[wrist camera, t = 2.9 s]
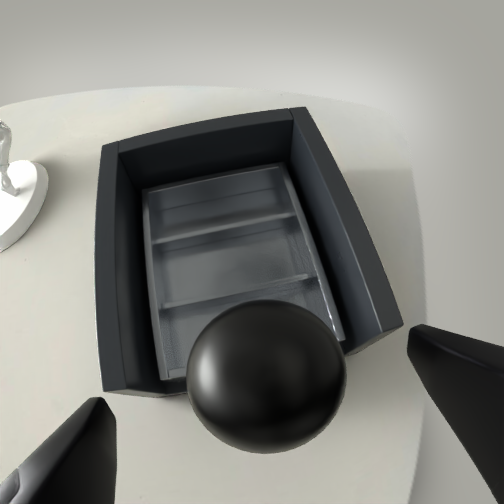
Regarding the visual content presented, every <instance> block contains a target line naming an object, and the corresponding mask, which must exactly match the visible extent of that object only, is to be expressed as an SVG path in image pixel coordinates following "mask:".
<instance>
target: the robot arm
mask: <svg viewBox="0 0 504 504" xmlns="http://www.w3.org/2000/svg"><path fill="white" fill-rule="evenodd" d="M407 354H408V357H409V359H410V361H411V363H412V365H413V366H414V368H415V370H416V372H417V374H418V376H419V377H420V379H421V381H422V383H423V385H424V387H425V389H426V390H427V392H428V394H429V395H430V397H431V398H432V400H433V401H434V403H435V404H436V406H437V407H438V409H439V410H440V412H441V413H442V414H443V416H444V417H445V419H446V420H447V422H448V423H449V425H450V426H451V428H452V430H453V431H454V433H455V434H456V436H457V437H458V439H459V440H460V442H461V443H462V445H463V446H464V448H465V449H466V451H467V453H468V454H469V456H470V457H471V459H472V460H473V462H474V464H475V465H476V467H477V468H478V470H479V472H480V473H481V475H482V477H483V478H484V480H485V482H486V483H487V485H488V487H489V488H490V490H491V492H492V494H493V495H494V497H495V499H496V501H497V502H498V504H504V347H502V346H499V345H495V344H491V343H488V342H484V341H481V340H477V339H473V338H470V337H466V336H462V335H459V334H455V333H452V332H448V331H445V330H441V329H438V328H435V327H431V326H428V325H424V324H420V325H417V326H415V327H412V328H411V329H410V331H409V336H408V345H407ZM116 472H117V444H116V419H115V416H114V414H113V413H112V411H111V409H110V408H109V406H108V404H107V403H106V401H105V399H104V398H102V397H93V398H89V399H88V400H87V401H86V402H85V403H84V404H83V405H82V406H81V407H79V408H78V409H77V410H76V411H75V412H74V413H73V414H72V415H71V416H70V417H69V418H68V419H67V420H66V421H65V422H64V423H63V424H62V425H61V426H60V427H59V428H58V429H57V430H56V431H55V432H54V433H53V434H52V435H51V436H49V437H48V438H47V439H46V440H45V441H44V442H43V443H42V444H41V445H40V446H39V447H38V448H37V449H36V450H35V451H34V452H33V453H32V454H31V455H30V456H29V457H28V458H27V459H26V460H25V461H24V462H23V463H22V464H21V465H20V466H19V467H18V469H15V470H14V471H13V472H12V473H11V474H10V475H9V476H8V477H7V478H6V479H5V480H4V481H3V482H2V483H1V484H0V504H114V501H115V486H116Z"/></svg>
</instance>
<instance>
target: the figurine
mask: <svg viewBox="0 0 504 504" xmlns="http://www.w3.org/2000/svg"><path fill="white" fill-rule="evenodd" d="M1 124H2V125H4V126H5V127H7V128H8V129H7V128H5V127H3V126H2V125H1ZM11 141H12V134H11V131H10V128H9V127H8V126H7V125H6V124H5V123H4V122H2V121H1V120H0V252H1V251H3V250H5V249H6V248H8V247H10V246H11V245H12V244H13V243H15V242H16V241H17V240H18V239H19V238H20V237H21V236H22V235H23V234H24V233H25V232H26V230H27V229H28V228H29V227H30V225H31V224H32V223H33V221H34V219H35V218H36V216H37V215H38V213H39V211H40V209H41V207H42V205H43V203H44V200H45V197H46V194H47V189H48V174H47V171H46V169H45V168H44V167H43V166H42V165H41V164H39V163H35V162H31V161H26V160H21V161H16V162H13V163H11V164H9V163H8V160H9V152H10V147H11Z"/></svg>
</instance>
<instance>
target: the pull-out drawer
mask: <svg viewBox="0 0 504 504" xmlns="http://www.w3.org/2000/svg"><path fill="white" fill-rule="evenodd" d="M142 218H143V237H144V252H145V266H146V277H147V288H148V298H149V307H150V315H151V324H152V331H153V339H154V346H155V353H156V359H157V366H158V372H159V378H160V380H163V381H167V382H170V383H178V382H185V381H186V384H187V392H188V396H189V399H190V402H191V405H192V407H193V409H194V412H195V413H196V415H197V417H198V418H199V420H200V421H201V422H202V424H203V425H204V426H205V427H206V429H207V430H209V431H210V432H211V433H212V434H213V435H214V436H215V437H217V438H218V439H219V440H221V441H222V442H224V443H226V444H228V445H230V446H232V447H234V448H237V449H240V450H242V451H247V452H251V453H260V454H270V453H279V452H285V451H288V450H291V449H294V448H297V447H299V446H301V445H303V444H306V443H307V442H309V441H310V440H312V439H313V438H315V437H316V436H317V435H318V434H320V433H321V432H322V431H323V430H324V429H325V428H326V427H327V426H328V425H329V423H330V422H331V421H332V419H333V418H334V416H335V415H336V413H337V411H338V409H339V407H340V405H341V403H342V400H343V397H344V393H345V388H346V378H347V373H346V363H345V359H344V354H343V352H342V349H341V346H340V343H341V342H342V341H344V340H345V339H346V338H345V334H344V331H343V328H342V324H341V321H340V318H339V315H338V312H337V308H336V305H335V302H334V299H333V296H332V293H331V290H330V287H329V284H328V281H327V278H326V275H325V272H324V269H323V266H322V263H321V260H320V257H319V254H318V251H317V248H316V246H315V243H314V240H313V237H312V234H311V231H310V229H309V226H308V223H307V220H306V218H305V215H304V212H303V209H302V207H301V204H300V201H299V199H298V196H297V193H296V191H295V188H294V185H293V183H292V180H291V178H290V175H289V173H288V170H287V167H286V165H285V162H284V161H283V162H278V163H271V164H265V165H259V166H253V167H247V168H241V169H236V170H231V171H225V172H220V173H215V174H210V175H205V176H200V177H195V178H190V179H186V180H181V181H177V182H172V183H168V184H163V185H159V186H155V187H151V188H149V189H148V188H146V189H142Z"/></svg>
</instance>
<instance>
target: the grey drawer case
mask: <svg viewBox="0 0 504 504" xmlns="http://www.w3.org/2000/svg"><path fill="white" fill-rule="evenodd" d="M283 161H284V162H285V165H286V167H287V170H288V173H289V175H290V178H291V180H292V183H293V185H294V188H295V191H296V193H297V196H298V199H299V201H300V204H301V207H302V209H303V212H304V215H305V218H306V220H307V223H308V226H309V229H310V231H311V234H312V237H313V240H314V243H315V246H316V248H317V251H318V254H319V257H320V260H321V263H322V266H323V269H324V272H325V275H326V278H327V281H328V284H329V287H330V290H331V293H332V296H333V299H334V302H335V305H336V308H337V312H338V315H339V318H340V321H341V324H342V328H343V331H344V334H345V338H346V339H345V340H344V341H342V342H341V343H340V346H341V349H342V352H343V354H344V357H345V356H349V355H352V354H355V353H358V352H359V351H361V350H363V349H365V348H366V347H368V346H370V345H372V344H373V343H375V342H377V341H379V340H380V339H382V338H384V337H385V336H387V335H389V334H390V333H392V332H394V331H395V330H397V329H399V328H400V327H402V326H403V325H404V323H403V320H402V317H401V314H400V312H399V309H398V306H397V303H396V300H395V298H394V295H393V292H392V289H391V287H390V284H389V281H388V279H387V276H386V274H385V271H384V268H383V266H382V263H381V261H380V258H379V256H378V254H377V251H376V249H375V246H374V244H373V241H372V239H371V237H370V234H369V232H368V230H367V227H366V225H365V223H364V221H363V218H362V216H361V214H360V212H359V210H358V207H357V205H356V203H355V201H354V199H353V197H352V194H351V192H350V190H349V188H348V186H347V184H346V182H345V180H344V178H343V176H342V174H341V172H340V170H339V168H338V166H337V164H336V162H335V160H334V158H333V156H332V154H331V152H330V150H329V148H328V146H327V144H326V142H325V141H324V139H323V137H322V135H321V133H320V131H319V129H318V128H317V126H316V124H315V122H314V120H313V119H312V117H311V115H310V113H309V112H308V110H307V108H306V107H295V108H289V109H288V108H284V109H276V110H268V111H260V112H253V113H246V114H239V115H233V116H227V117H221V118H216V119H210V120H205V121H200V122H195V123H190V124H185V125H180V126H176V127H171V128H167V129H162V130H158V131H154V132H150V133H146V134H142V135H138V136H134V137H131V138H127V139H123V140H120V141H116V142H112V143H109V144H106V145H103V146H102V150H101V158H100V167H99V177H98V187H97V200H96V215H95V237H94V297H95V319H96V334H97V347H98V357H99V367H100V375H101V383H102V390H103V392H108V393H116V394H123V395H132V396H141V397H151V398H155V397H163V396H171V395H178V394H184V393H188V392H187V384H186V381H185V382H178V383H170V382H167V381H163V380H160V378H159V372H158V366H157V359H156V353H155V346H154V339H153V331H152V324H151V315H150V307H149V298H148V288H147V277H146V266H145V252H144V237H143V218H142V189H146V188H148V189H149V188H151V187H155V186H159V185H163V184H168V183H172V182H177V181H181V180H186V179H190V178H195V177H200V176H205V175H210V174H215V173H220V172H225V171H231V170H236V169H241V168H247V167H253V166H259V165H265V164H271V163H278V162H283Z"/></svg>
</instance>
